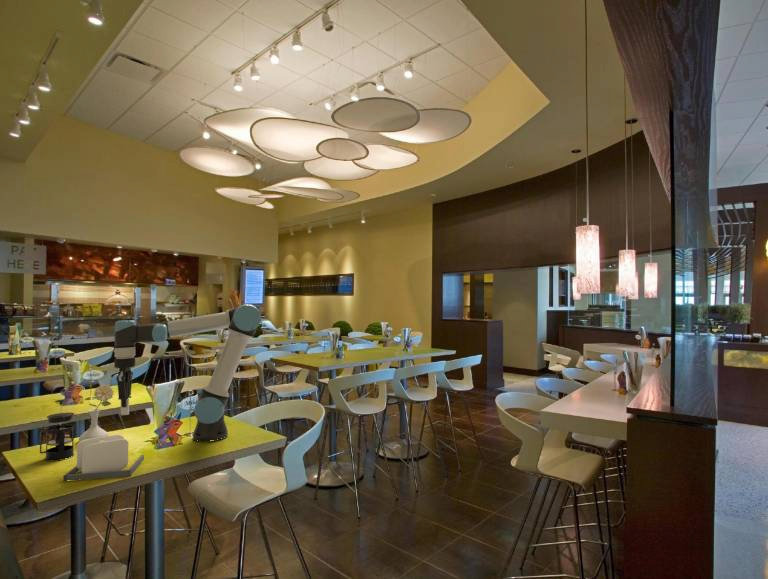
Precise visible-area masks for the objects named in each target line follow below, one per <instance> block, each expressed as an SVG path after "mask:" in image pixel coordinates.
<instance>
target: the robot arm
mask: <svg viewBox="0 0 768 579" xmlns="http://www.w3.org/2000/svg"><path fill="white" fill-rule="evenodd" d="M261 321H262V313H261V311H260V310H259V308H258V307H257V306H255V305H253V304H249V303H244V304H241V305H239V306H237V307H234V308H230V309H227V310H225V311H224V312H219V313H218V312H217V313H211V314H207V315H198V316H194V317H192V316H191V317H188V318H182V319H175V320H169V321H163V322H156V323H151V324H137V323H136V321H135V320H129V319H127V320H116V321H115V323H114V332H113V334H114V349H113V350H112V352H113V353H114V360H113V361H114V363H113V364H114V365H113V366H114V368H116V369H119V370H118V374H117V375H118V376H116V382H117V392H118V398H117V400H120V416H128V415H130V399H131V398H132V382H133V376H134V373H133V371H132V369H131V368H134V367H135V366H136V357H135V356H136V343H138V344H139V343H161V342H163V343H164V342H166V341H167V339H170V338H177V337H182V336H187V335H194V334H198V333H199V334H200V333H206V332H211V331H218V330H224V329H227V330H228V332H229V333H228V337H227V339H226V341H225V344H224V347H223V349H222V351H221V354H220V356H219V358H218V361H217V364H216V365H215V368H214V370H213V373H212V374H211V377H210V380H209V382H208V384H207V385H205V386H203V387H202V388H201V387H200V388H199V389H198V390H197V394H196V395H197V401H196V404H195V405H194V408H193V412H194V416H195V418H196V419H197V421H196V422H197V423H196V424H195V428H194V430H193V433H192V440H193V439H194V440H198V441H210V440H217V439H221V438H224V437H226V436H227V435H228V436H229V431H228V427H227V425H226V424H227V423H226V421H225V408H226V404H228V400H229V398H230V393H229V388H230V386H231V383H232V381H233V379H234V376H235V374H236V371H237V369H238V366H239V364H240V361H241V359H242V356H243V354H244V351H245V349H246V347H247V344H248V341H249V340H251V339H253V338H254V337H255V334H256V332H257V329H258V327H259V325H260V324H261V323H262V322H261ZM228 436H227V437H228ZM227 437H226V438H227ZM224 439H225V438H224ZM194 440H193V441H194ZM221 440H222V439H221ZM198 441H197V442H198ZM217 441H218V440H217Z"/></svg>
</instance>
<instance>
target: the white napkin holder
mask: <svg viewBox="0 0 768 579" xmlns="http://www.w3.org/2000/svg"><path fill="white" fill-rule="evenodd" d="M76 465H77V469H79V470H80V471H81V473H93V472H105V471H117V470H125V469H126V468H127V467H128V465H129V441H128V440H127V439H126V438H124V436H123V435H121V434H119V433H118V434H112V435H111V434H109V436H103V437H97V438H91V439H85V440H82V441H80V440H79V442H77V444H76Z"/></svg>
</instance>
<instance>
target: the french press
mask: <svg viewBox="0 0 768 579" xmlns="http://www.w3.org/2000/svg"><path fill="white" fill-rule="evenodd" d="M67 401H68V399H66V398H65V399H64V398H62V399H57V400H55V401H54V402H55V403H59V405H60V410H59V413H57V412H56V413H54V414H53V413H52V414H49V415H47V416H46V418H47V419H48V421H47V422H48V423H50V424H57V425H53V426H49V427H47V428H46V429H42V430H40V432H39V434H40V435H39V437H40V438H39V454H45V457H44V460H45V459H46V460H58V461H61V460H60V459H64V460H66V459H65V458H67V459H70V458H72V457H74V455H75V453H74V441H75V440H74V439H75V438H74V437H75V435H74V434H75V425H74V424H71V423H68V424H67V423H66V422H69V421H71V420H72V419H73V417H74V416H75V413H74V412H62V411H63V410H62V408H63V406H62V405H63V403H64V402H67ZM58 423H59V424H58ZM62 423H66V424H62ZM71 431H72V434H71V436H72V438H71V437H66V436H65V435H66V434H65V433H67V432H71ZM43 432H46V441H45V442H46V443H45V450H44V451H42V443H43V442H42V440H43V439H42V438H43V436H42V435H43ZM48 434H51V435H52V434H55V439H53V440H50V441H48V437H49V436H48ZM70 443H71V444H72V445H70ZM68 444H69V445H68ZM48 446H51V447H50V448H48ZM52 446H53V447H52ZM71 456H72V457H71ZM69 457H70V458H69ZM46 460H45V461H46Z"/></svg>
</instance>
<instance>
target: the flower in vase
mask: <svg viewBox="0 0 768 579" xmlns="http://www.w3.org/2000/svg"><path fill="white" fill-rule="evenodd" d="M114 394H115V390H113V388H112V387H111V386H110V385H108V384H102V385H99V386H98V387H96V388H95V389H94V394H93V396H94V397H95V399H96V401H100V402H99V404H98V405H96V404H92V403H89V402H88V405H89V406H91V407H95V408H93V409H88V410H87V411H88V413H89V414H90V417H91V421H90V422H91V424H90V427H89V428H88V429H87V430H86V431H84V432H82V434H81V435H80V436H79V437H78V440H79V442H80V441H82V440H85V439H91V438H97V437H103V436H110V434H109V433H108V432H107V431H106V430H105V429H103V428H101V427H100V426H99V425H98V418H99V417H98V416H99V415H100V414H99V413H100V412H101V410H102V408H99V407H100V405H102V407H107V406H110V405H112V403H111V402H110V401H109V400H110V399H113V396H114Z"/></svg>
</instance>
